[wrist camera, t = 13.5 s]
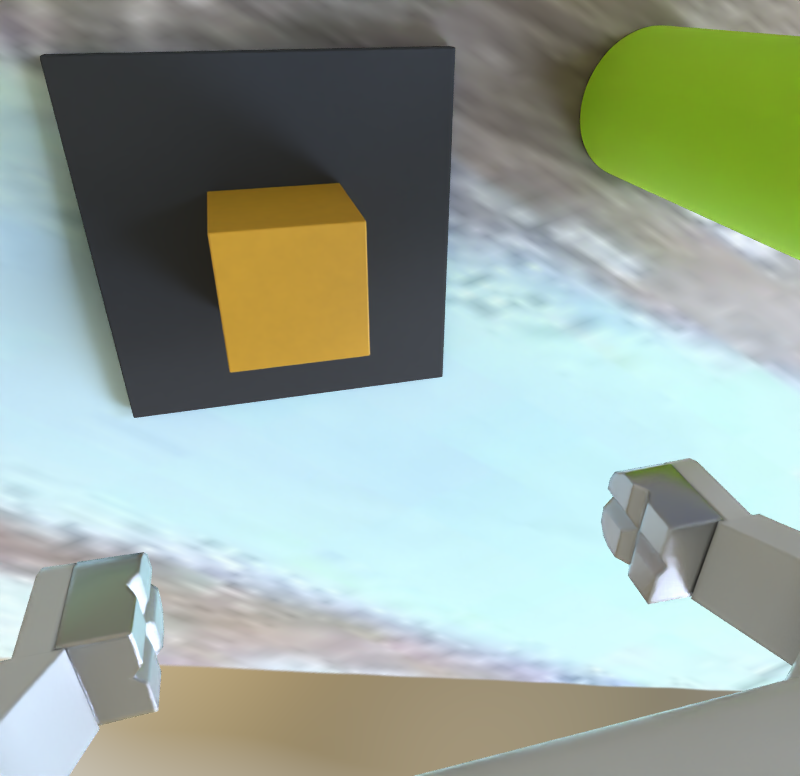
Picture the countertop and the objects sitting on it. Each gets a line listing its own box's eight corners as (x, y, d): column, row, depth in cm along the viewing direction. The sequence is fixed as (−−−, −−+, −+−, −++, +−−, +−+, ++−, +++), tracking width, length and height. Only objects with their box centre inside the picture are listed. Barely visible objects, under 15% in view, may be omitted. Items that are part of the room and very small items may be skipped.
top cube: (340, 182, 25) (366, 220, 21) (345, 301, 28) (370, 356, 24) (206, 191, 24) (207, 232, 20) (225, 314, 27) (229, 373, 23)
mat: (450, 45, 24) (455, 46, 24) (438, 371, 31) (442, 377, 31) (42, 54, 21) (38, 55, 21) (134, 411, 28) (133, 418, 28)
